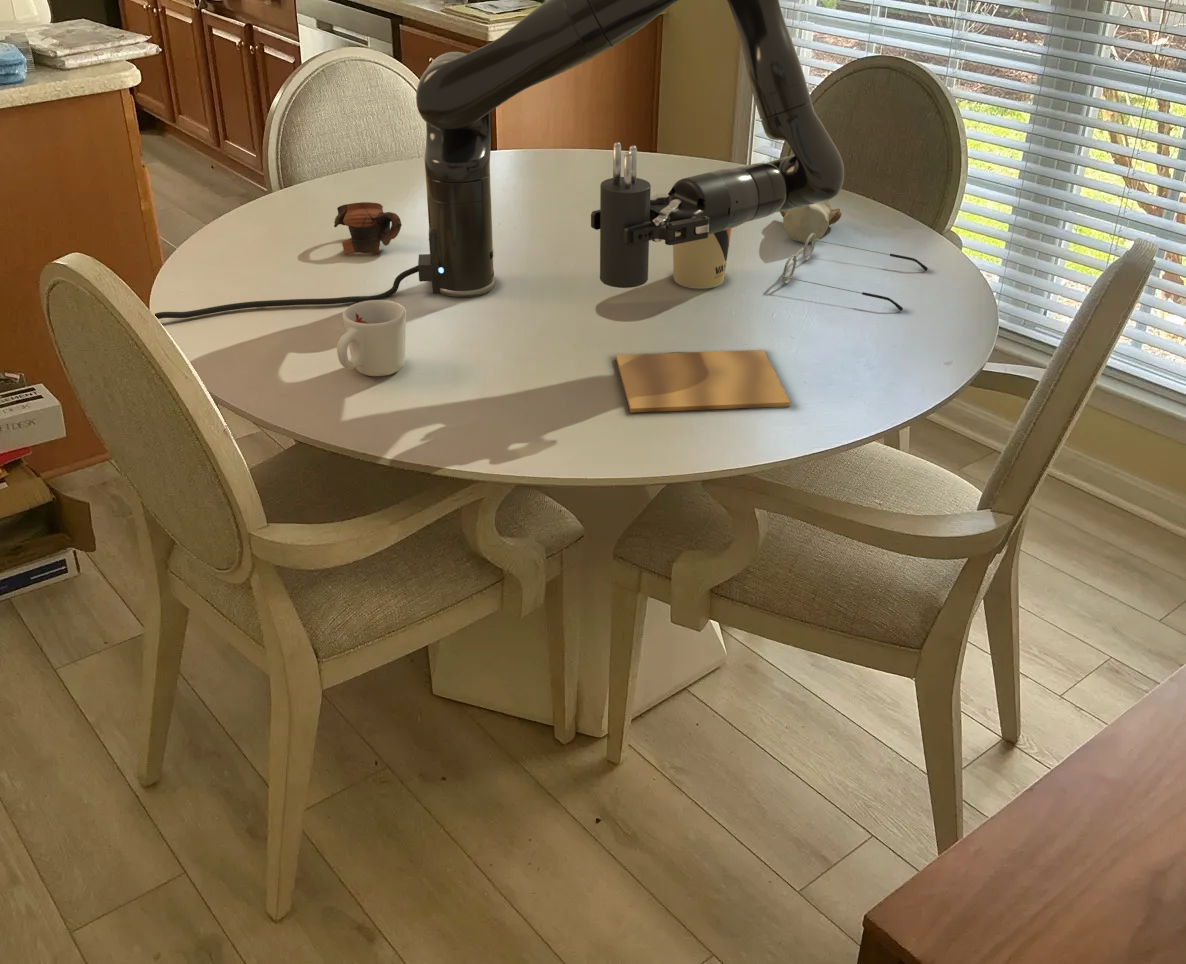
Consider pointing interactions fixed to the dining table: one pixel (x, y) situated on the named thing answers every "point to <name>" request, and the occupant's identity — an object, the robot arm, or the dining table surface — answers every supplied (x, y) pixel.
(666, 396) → the wooden board
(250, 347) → the dining table surface
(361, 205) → the pottery mug
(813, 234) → the eyeglasses
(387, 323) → the cup
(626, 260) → the cutlery holder
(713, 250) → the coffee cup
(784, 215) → the ceramic sculpture
